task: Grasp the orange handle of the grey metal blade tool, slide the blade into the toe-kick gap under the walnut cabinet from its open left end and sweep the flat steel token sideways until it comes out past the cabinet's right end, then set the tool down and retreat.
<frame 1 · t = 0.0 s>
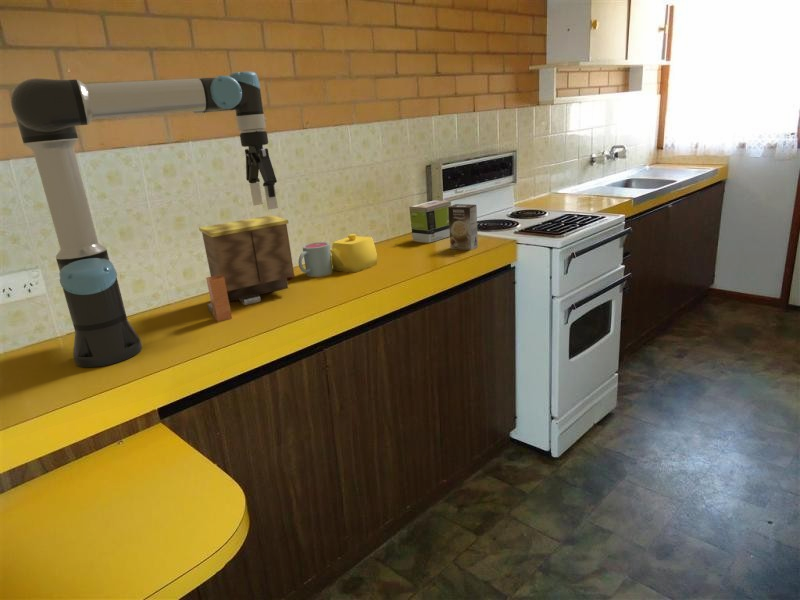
hand: (265, 206, 167), 28 cm above the countertop, fingers open, 13 cm apart
tea box: (433, 239, 238), on the countertop
teapot: (353, 268, 203), on the countertop
cabinet: (255, 295, 181), on the countertop
token: (250, 302, 175), on the countertop
beverage can: (284, 279, 197), on the countertop
coffee box: (464, 248, 217), on the countertop
mug: (315, 275, 199), on the countertop
blade tool: (223, 318, 162), on the countertop
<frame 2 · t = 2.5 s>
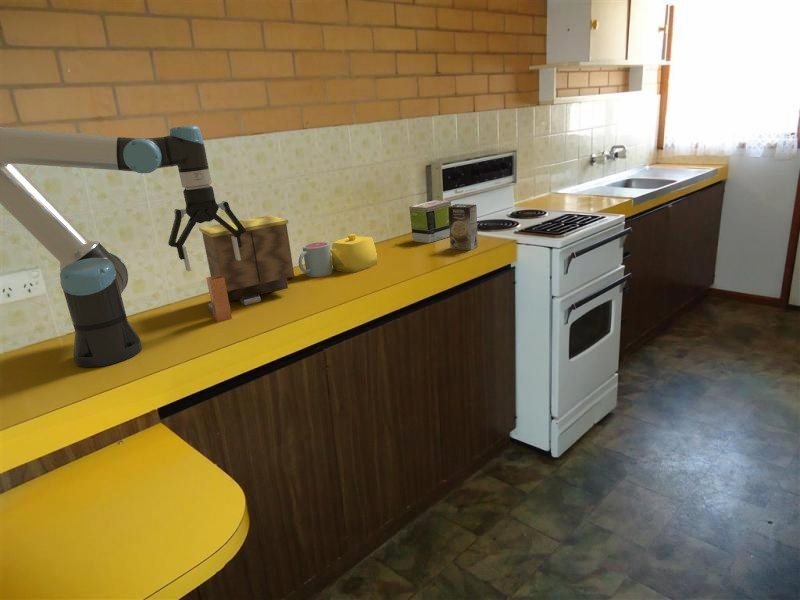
hand: (213, 265, 157), 15 cm above the countertop, fingers open, 13 cm apart
nothing on the countertop moved.
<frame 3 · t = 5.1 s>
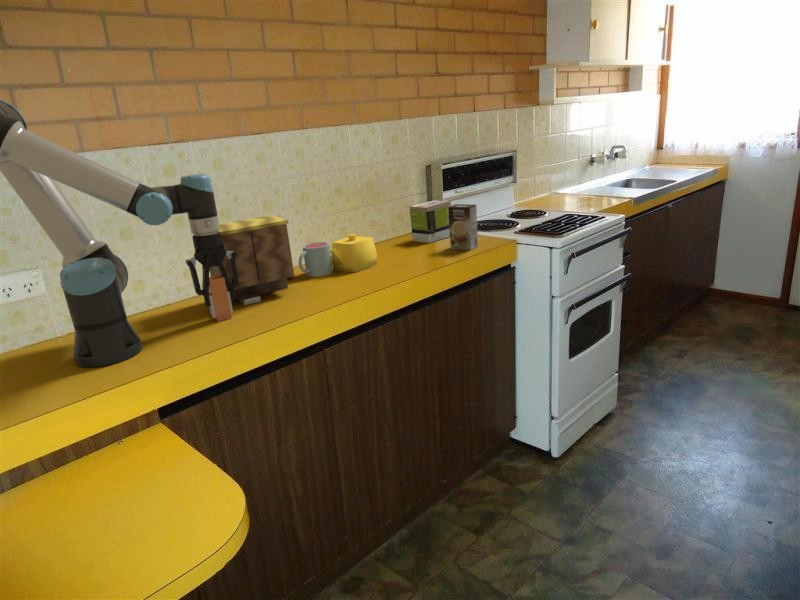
hand: (222, 314, 161), 1 cm above the countertop, fingers closed on blade tool, 4 cm apart
blade tool: (223, 318, 162), on the countertop, touching gripper
everything else where it was.
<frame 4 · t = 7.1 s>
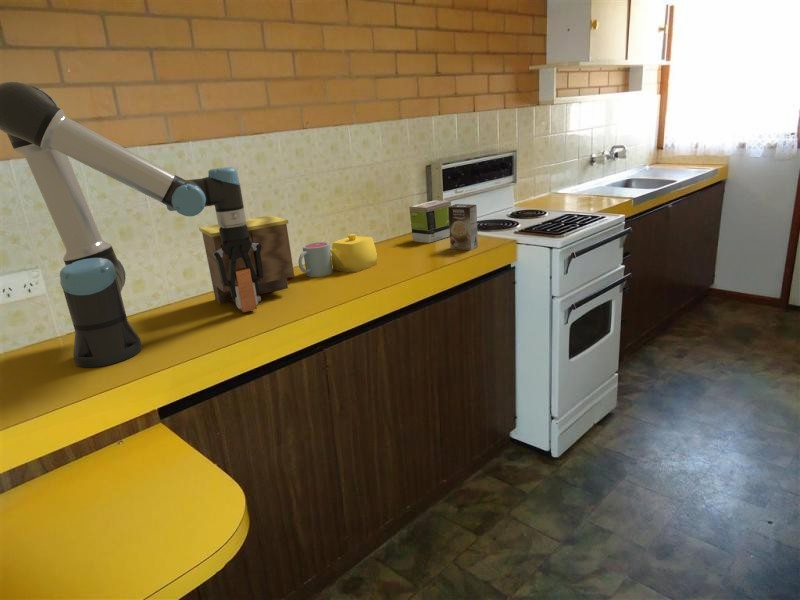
hand: (247, 305, 164), 2 cm above the countertop, fingers closed on blade tool, 4 cm apart
blade tool: (248, 309, 165), point 1 cm above the countertop, touching gripper
everything else where it was.
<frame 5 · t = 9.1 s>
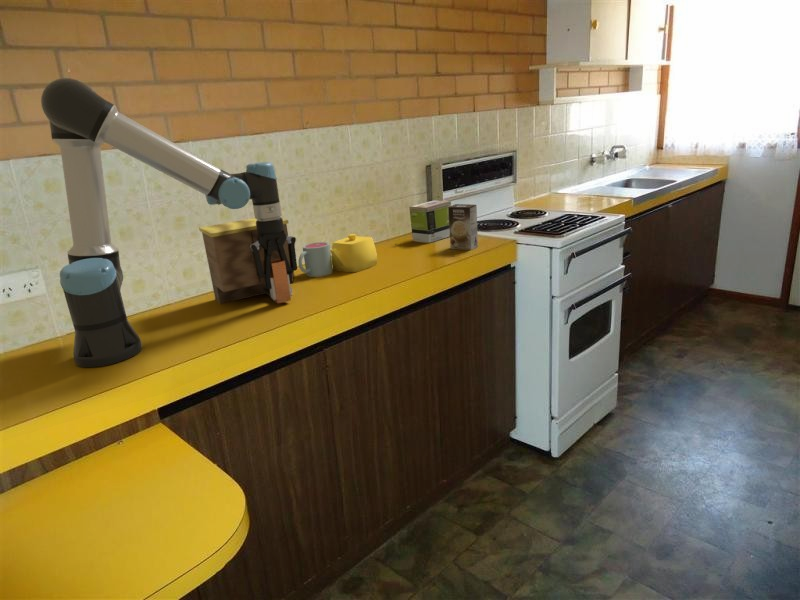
hand: (281, 296, 169), 2 cm above the countertop, fingers closed on blade tool, 4 cm apart
token: (282, 294, 180), on the countertop
blade tool: (282, 300, 170), point 1 cm above the countertop, touching gripper
everything else where it was.
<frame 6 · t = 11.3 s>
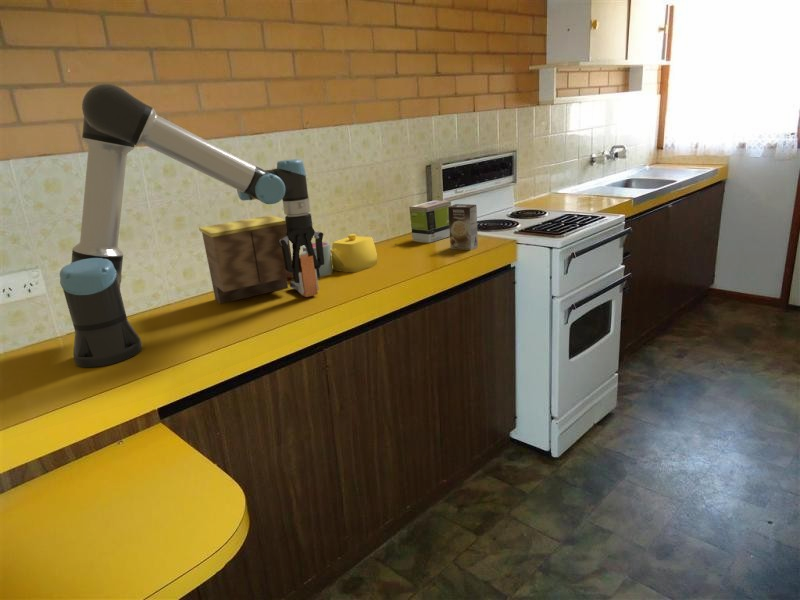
hand: (308, 290, 173), 2 cm above the countertop, fingers closed on blade tool, 4 cm apart
token: (307, 288, 184), on the countertop
blade tool: (309, 294, 174), point 1 cm above the countertop, touching gripper
everything else where it was.
when the fingers open (1 cm above the countertop, at t = 13.6 s): blade tool stays where it is, on the countertop.
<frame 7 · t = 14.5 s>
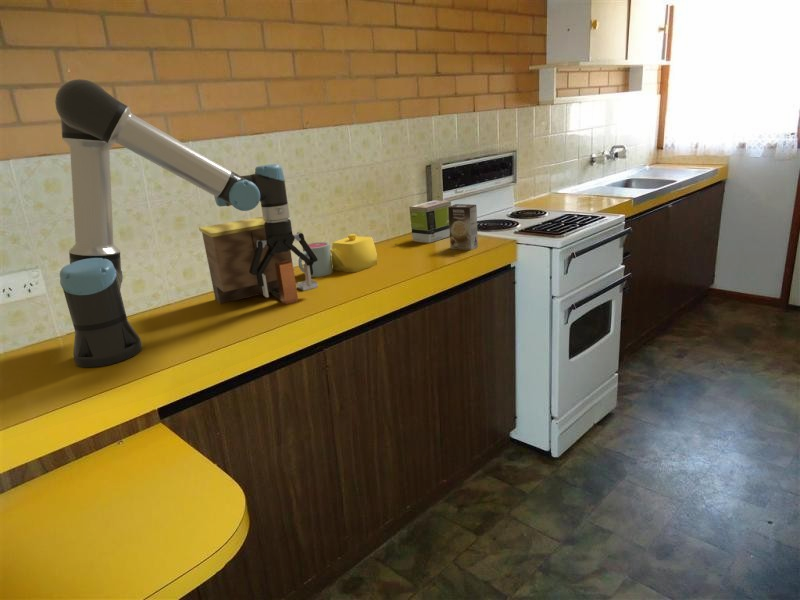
hand: (288, 291, 170), 3 cm above the countertop, fingers open, 13 cm apart
blade tool: (289, 301, 171), on the countertop
everything else where it was.
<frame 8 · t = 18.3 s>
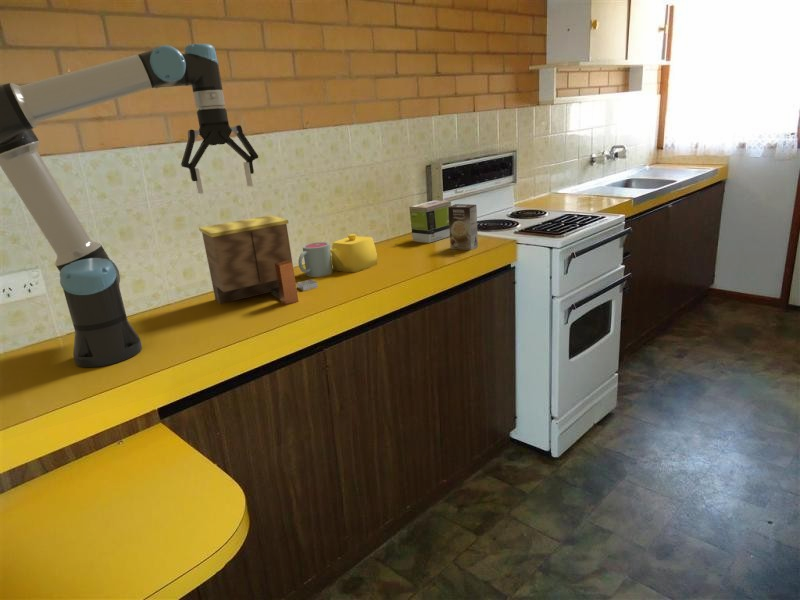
hand: (225, 189, 157), 35 cm above the countertop, fingers open, 13 cm apart
nothing on the countertop moved.
at the end: token inside the target area (4.8 cm from its centre), on the countertop; token touching countertop; the gripper is holding nothing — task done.
